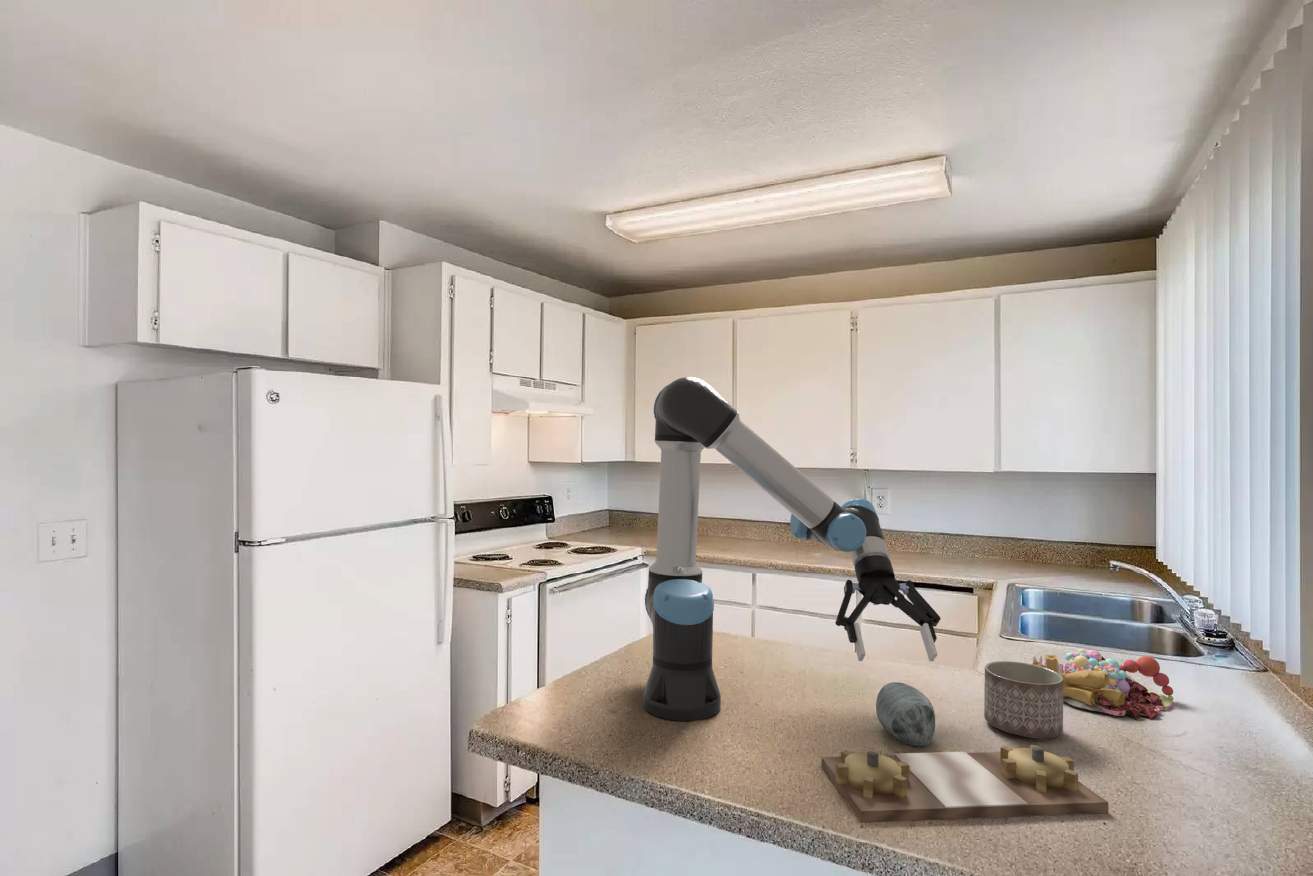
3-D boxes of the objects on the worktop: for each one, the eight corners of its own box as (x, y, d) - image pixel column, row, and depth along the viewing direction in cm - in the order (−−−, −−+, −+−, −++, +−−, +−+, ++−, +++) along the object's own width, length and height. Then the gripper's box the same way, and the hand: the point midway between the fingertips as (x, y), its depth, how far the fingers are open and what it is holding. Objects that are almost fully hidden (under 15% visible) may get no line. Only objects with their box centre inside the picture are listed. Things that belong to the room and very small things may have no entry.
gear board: (858, 822, 92) (858, 781, 92) (819, 766, 108) (819, 731, 108) (1111, 812, 95) (1111, 773, 95) (1036, 760, 111) (1036, 726, 111)
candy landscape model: (1149, 731, 124) (1149, 681, 124) (1013, 694, 142) (1014, 650, 142) (1181, 699, 141) (1182, 655, 141) (1056, 670, 158) (1057, 630, 158)
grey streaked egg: (955, 735, 112) (923, 677, 115) (903, 760, 113) (872, 701, 115) (935, 723, 125) (907, 671, 128) (888, 745, 126) (861, 693, 129)
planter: (988, 737, 120) (988, 678, 120) (980, 711, 132) (981, 657, 132) (1070, 749, 115) (1070, 688, 116) (1054, 721, 127) (1055, 666, 127)
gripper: (925, 574, 146) (956, 667, 131) (810, 573, 145) (828, 666, 130) (936, 553, 140) (970, 648, 125) (816, 552, 140) (836, 647, 125)
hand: (897, 658), depth 128 cm, fingers open, 13 cm apart
